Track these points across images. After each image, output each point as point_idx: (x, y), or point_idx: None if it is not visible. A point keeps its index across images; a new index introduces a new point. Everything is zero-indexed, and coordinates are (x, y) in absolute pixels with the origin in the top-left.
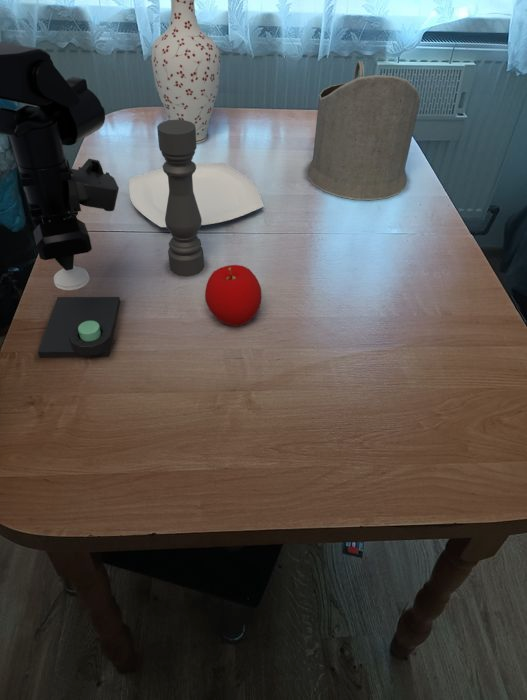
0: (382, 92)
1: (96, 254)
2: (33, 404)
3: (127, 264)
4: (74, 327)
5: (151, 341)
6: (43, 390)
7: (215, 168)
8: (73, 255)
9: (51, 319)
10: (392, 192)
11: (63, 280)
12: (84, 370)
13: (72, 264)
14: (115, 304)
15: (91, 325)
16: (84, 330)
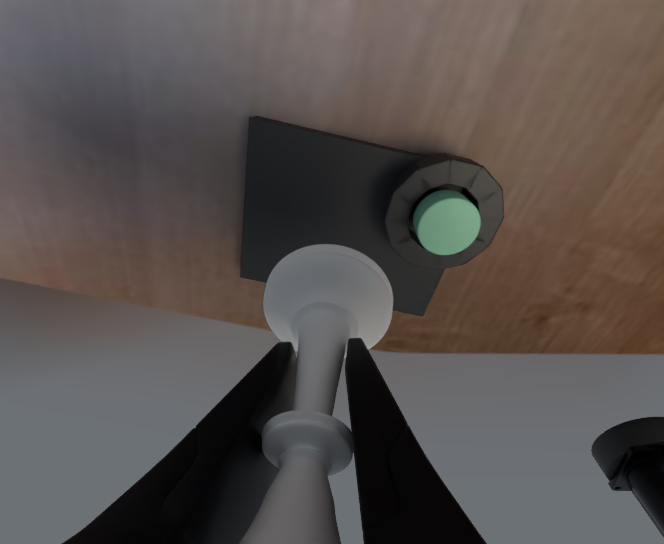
0: None
1: (31, 172)
2: (546, 317)
3: (58, 74)
4: (403, 256)
5: (469, 22)
6: (518, 302)
7: None
8: (395, 404)
9: None
10: None
11: (363, 341)
12: (500, 227)
13: (370, 358)
14: (287, 133)
15: (444, 220)
16: (460, 240)
